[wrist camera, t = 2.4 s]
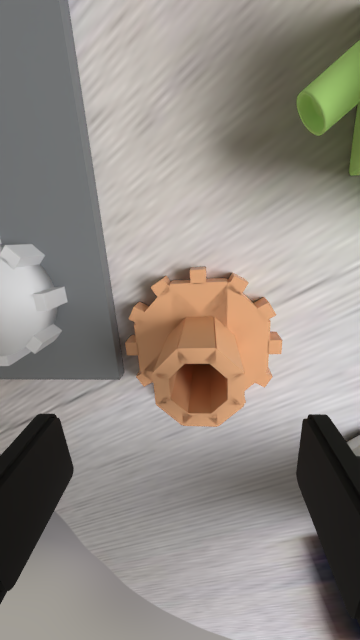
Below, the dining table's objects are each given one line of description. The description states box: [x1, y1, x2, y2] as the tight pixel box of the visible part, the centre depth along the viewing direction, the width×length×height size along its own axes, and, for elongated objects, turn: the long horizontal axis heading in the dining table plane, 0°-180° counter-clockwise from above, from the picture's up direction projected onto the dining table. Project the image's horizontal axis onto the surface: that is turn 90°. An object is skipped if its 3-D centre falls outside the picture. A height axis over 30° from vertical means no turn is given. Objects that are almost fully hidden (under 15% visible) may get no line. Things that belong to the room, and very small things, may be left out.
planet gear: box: [125, 267, 282, 427], centre depth 17 cm, size 12×12×7 cm
